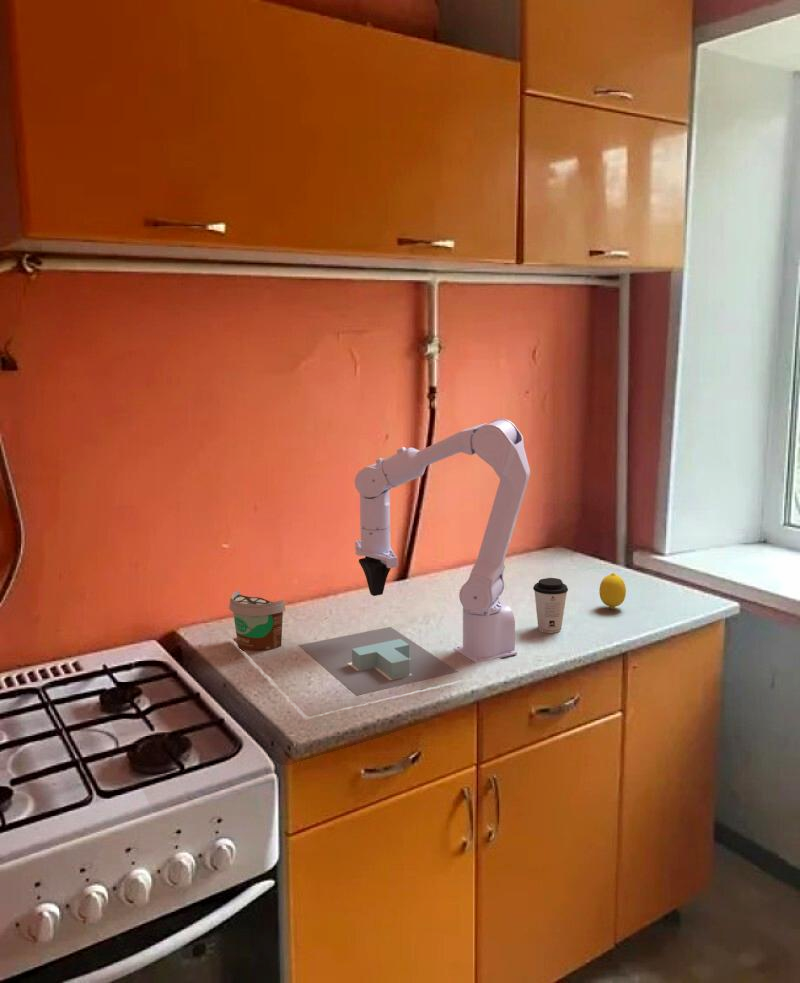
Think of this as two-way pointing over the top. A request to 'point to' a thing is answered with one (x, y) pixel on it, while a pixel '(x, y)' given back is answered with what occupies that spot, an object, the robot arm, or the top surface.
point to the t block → (384, 658)
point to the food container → (257, 622)
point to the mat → (339, 664)
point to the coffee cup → (550, 604)
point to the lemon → (612, 590)
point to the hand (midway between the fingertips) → (376, 594)
